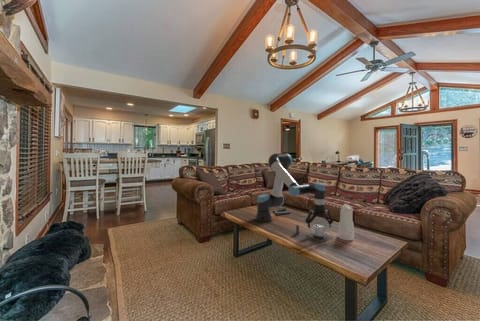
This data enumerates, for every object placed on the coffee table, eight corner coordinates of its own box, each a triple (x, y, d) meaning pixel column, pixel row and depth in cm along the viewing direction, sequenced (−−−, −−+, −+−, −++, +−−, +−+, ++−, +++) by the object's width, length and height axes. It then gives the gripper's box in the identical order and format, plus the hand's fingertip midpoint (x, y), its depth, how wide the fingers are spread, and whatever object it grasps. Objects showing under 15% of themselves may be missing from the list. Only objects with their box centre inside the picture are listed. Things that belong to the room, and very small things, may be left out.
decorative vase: (353, 241, 156) (354, 207, 155) (337, 238, 162) (337, 205, 160) (354, 236, 165) (355, 204, 164) (339, 233, 171) (339, 202, 169)
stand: (291, 234, 169) (292, 224, 169) (297, 233, 172) (297, 223, 172) (297, 237, 164) (297, 227, 164) (303, 235, 167) (303, 225, 167)
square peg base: (305, 236, 165) (305, 225, 165) (317, 232, 172) (317, 221, 172) (320, 243, 153) (320, 231, 153) (333, 239, 160) (333, 227, 160)
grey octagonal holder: (311, 232, 167) (311, 224, 167) (322, 231, 167) (322, 224, 167) (315, 236, 159) (315, 228, 159) (326, 236, 159) (326, 228, 159)
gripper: (304, 205, 158) (304, 234, 159) (338, 204, 158) (337, 233, 159) (301, 202, 165) (301, 230, 166) (333, 202, 165) (333, 229, 167)
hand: (319, 231), depth 163 cm, fingers open, 13 cm apart
